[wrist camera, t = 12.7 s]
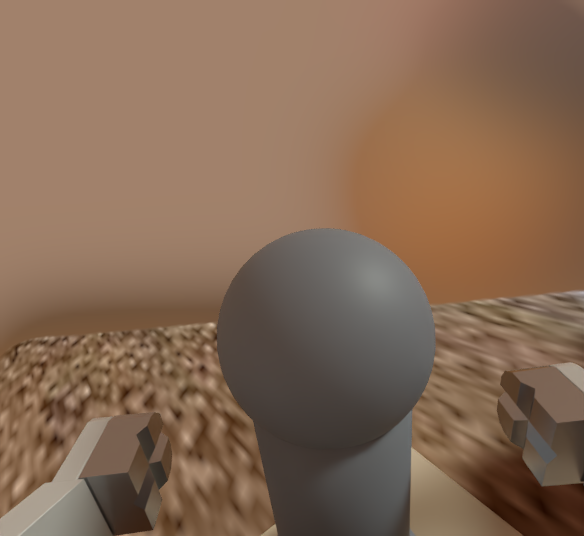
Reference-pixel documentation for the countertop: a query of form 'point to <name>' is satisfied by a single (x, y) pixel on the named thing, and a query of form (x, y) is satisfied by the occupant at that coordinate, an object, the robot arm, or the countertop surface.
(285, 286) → the pawn
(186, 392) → the countertop surface
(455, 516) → the board
